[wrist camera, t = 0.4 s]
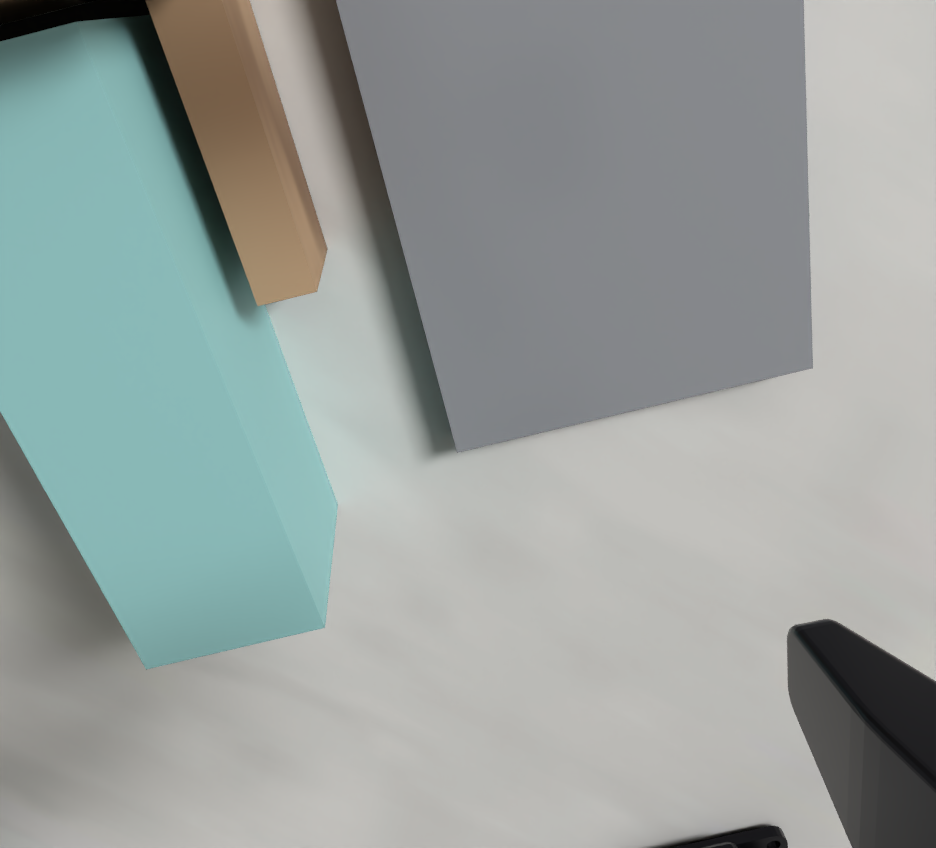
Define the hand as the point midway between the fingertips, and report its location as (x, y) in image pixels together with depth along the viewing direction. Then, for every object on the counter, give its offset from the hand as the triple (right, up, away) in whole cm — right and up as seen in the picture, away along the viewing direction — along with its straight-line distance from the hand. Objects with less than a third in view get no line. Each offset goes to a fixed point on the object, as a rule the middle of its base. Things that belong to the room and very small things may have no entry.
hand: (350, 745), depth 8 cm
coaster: (+4, +10, +10) cm, 14 cm away
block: (-6, +6, +11) cm, 14 cm away
